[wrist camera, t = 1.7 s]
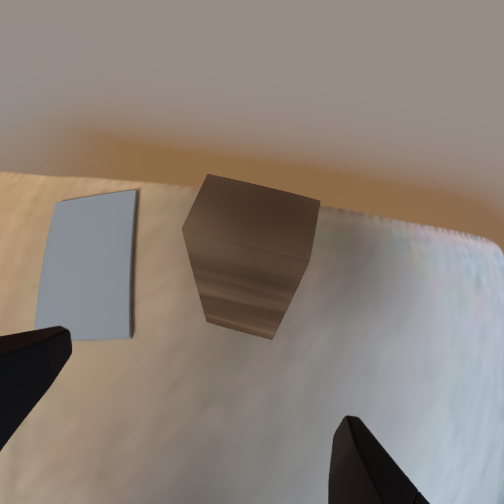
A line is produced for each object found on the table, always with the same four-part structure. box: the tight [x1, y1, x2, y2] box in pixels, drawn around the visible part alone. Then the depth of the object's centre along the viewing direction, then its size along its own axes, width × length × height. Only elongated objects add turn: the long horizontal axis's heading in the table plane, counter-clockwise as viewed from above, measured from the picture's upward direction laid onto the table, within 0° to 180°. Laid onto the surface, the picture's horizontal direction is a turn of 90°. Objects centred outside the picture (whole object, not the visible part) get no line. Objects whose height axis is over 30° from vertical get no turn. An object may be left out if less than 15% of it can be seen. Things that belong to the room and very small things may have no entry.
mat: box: [35, 190, 137, 341], centre depth 24 cm, size 14×9×1 cm, turn 8°
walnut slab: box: [182, 174, 320, 340], centre depth 18 cm, size 3×5×12 cm, turn 75°
